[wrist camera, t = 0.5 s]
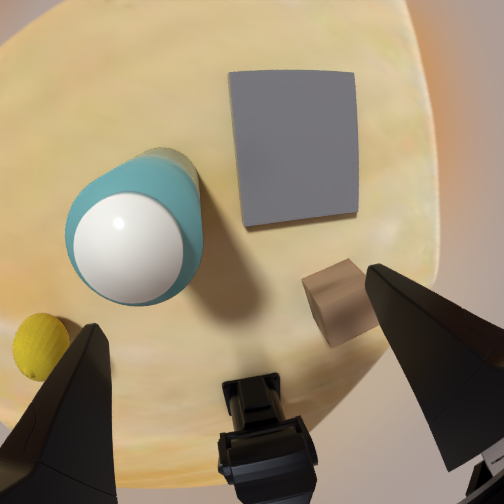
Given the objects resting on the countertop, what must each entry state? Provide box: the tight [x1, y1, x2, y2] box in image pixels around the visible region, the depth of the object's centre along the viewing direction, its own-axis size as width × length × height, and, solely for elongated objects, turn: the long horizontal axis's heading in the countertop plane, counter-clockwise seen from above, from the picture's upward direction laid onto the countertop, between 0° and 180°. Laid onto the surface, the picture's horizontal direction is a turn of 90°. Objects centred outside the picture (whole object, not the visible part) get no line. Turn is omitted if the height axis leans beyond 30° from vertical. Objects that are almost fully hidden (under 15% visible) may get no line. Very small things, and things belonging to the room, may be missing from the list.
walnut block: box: [301, 258, 379, 348], centre depth 27 cm, size 5×5×5 cm
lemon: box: [13, 313, 70, 381], centre depth 22 cm, size 6×6×8 cm
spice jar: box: [65, 148, 203, 306], centre depth 17 cm, size 6×6×13 cm
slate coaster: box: [228, 70, 359, 227], centre depth 23 cm, size 12×10×1 cm
